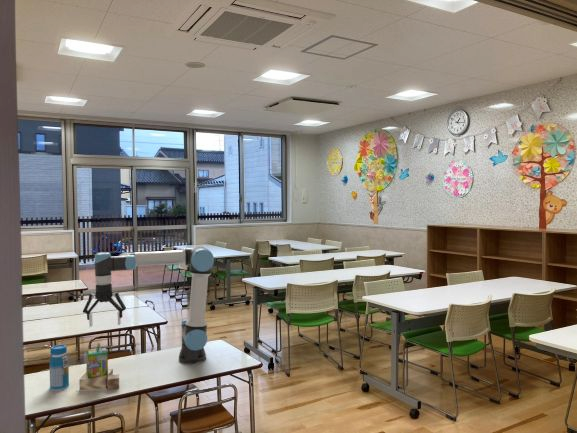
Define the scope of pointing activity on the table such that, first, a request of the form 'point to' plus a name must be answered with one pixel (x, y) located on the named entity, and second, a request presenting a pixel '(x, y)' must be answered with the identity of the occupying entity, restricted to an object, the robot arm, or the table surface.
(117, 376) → the walnut cube
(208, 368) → the table surface
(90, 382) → the base block
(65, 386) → the beverage bottle
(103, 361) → the green juice carton
